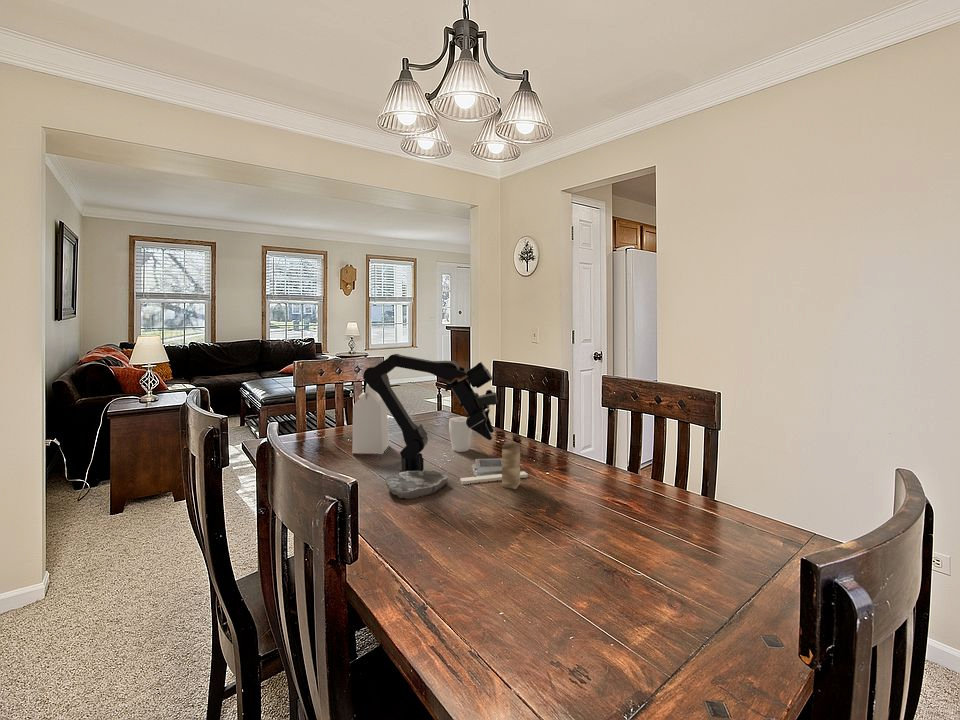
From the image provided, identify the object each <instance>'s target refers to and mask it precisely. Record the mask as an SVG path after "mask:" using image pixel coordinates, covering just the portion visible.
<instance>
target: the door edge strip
mask: <svg viewBox="0 0 960 720" xmlns="http://www.w3.org/2000/svg"><path fill="white" fill-rule="evenodd" d="M528 475H529V474H528V473H527V472H526V471H520V479H522V478H523V479H525V478H528ZM497 480H498V481H502V474H494V475H485V476H476V477H474V476H470V477H469V476H468V477H461V478H459V482H460V484H462V485H468V484H470V483H471V484H477V483H478V484H480V483H489V482H495V481H496V482H497ZM488 481H489V482H488ZM479 482H480V483H479ZM471 484H470V485H471Z"/></svg>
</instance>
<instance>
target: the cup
mask: <svg viewBox="0 0 960 720" xmlns="http://www.w3.org/2000/svg"><path fill="white" fill-rule="evenodd" d="M467 418H468V417H467V416H455V417H451V418H449V420H448V423H449V424H448V430H449V438H450V442H451V443H450V444H451V450H452V451H453V452H456V453H464V452H468V451H469V450H470V447H471V440H472V439H471V438H472V429H470V428H468V426H467V425H466V420H467Z"/></svg>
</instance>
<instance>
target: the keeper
mask: <svg viewBox="0 0 960 720" xmlns="http://www.w3.org/2000/svg"><path fill="white" fill-rule="evenodd" d="M471 467H472V473H473V477H474V476H485V475H494V474H502V457H500V458H498V457H497V458H475V461H474V464H473V463H472V464H471Z"/></svg>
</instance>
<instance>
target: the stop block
mask: <svg viewBox="0 0 960 720" xmlns="http://www.w3.org/2000/svg"><path fill="white" fill-rule="evenodd" d="M501 458H502V480H501V487H502V488H504V489H505V488H507V489H513V490H516V489H518V487H519V486H520V485H521V478H520V472H521V443H520V442H509V441H506V442H504V444H502V445H501Z"/></svg>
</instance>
